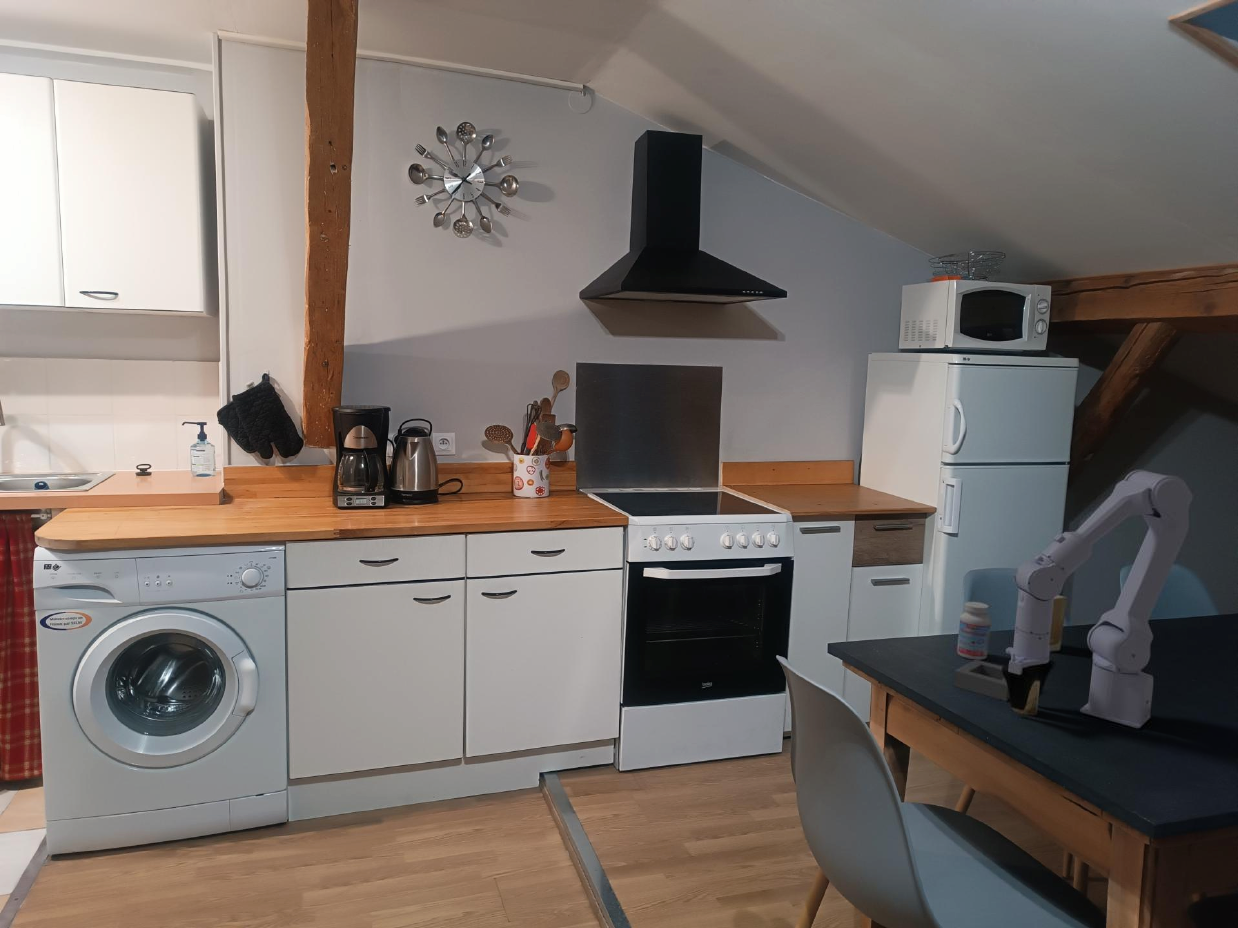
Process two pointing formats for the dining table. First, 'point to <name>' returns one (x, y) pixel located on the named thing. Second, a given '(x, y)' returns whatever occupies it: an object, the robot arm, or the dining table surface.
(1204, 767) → the dining table surface
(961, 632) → the pill bottle
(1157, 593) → the robot arm
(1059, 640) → the skincare box
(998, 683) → the coupling block
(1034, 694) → the brass cylinder
